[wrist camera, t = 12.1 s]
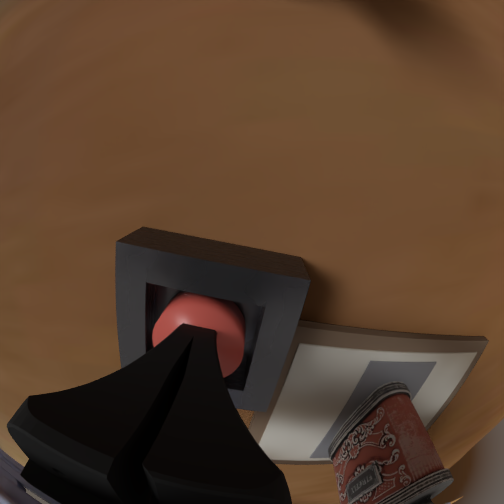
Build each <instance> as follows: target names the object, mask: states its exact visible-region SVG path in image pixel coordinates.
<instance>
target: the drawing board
mask: <svg viewBox="0 0 504 504" xmlns="http://www.w3.org/2000/svg"><path fill="white" fill-rule="evenodd" d="M487 343H488V340H487V339H486V338H485V337H484V336H452V335H434V334H419V333H406V332H394V331H384V330H374V329H364V328H356V327H347V326H339V325H332V324H324V323H317V322H310V321H303V320H299V321H298V324H297V327H296V331H295V334H294V337H293V340H292V343H291V346H290V349H289V351H288V354H287V357H286V360H285V363H284V366H283V369H282V371H281V374H280V377H279V380H278V382H277V385H276V388H275V391H274V393H273V396H272V399H271V401H270V404H269V406H268V409H267V411H266V412H259V411H255V412H254V414H253V417H252V420H251V423H250V426H249V428H248V430H249V431H250V433H251V435H252V436H253V438H254V439H255V440H256V442H257V443H258V444H259V446H260V447H261V448H262V450H263V451H264V452H265V453H266V455H267V456H268V457H269V458H270V459H271V460H272V462H273V463H274V464H295V465H314V464H333V462H332V461H330V459H329V454H328V448H329V446H330V444H331V442H332V440H333V438H334V436H335V435H336V434H337V432H338V431H339V430H340V428H341V427H342V425H343V424H344V423H345V421H346V420H347V419H348V418H349V417H350V416H351V415H352V414H353V412H354V411H355V410H356V409H357V408H358V407H359V406H360V405H361V404H362V403H363V402H364V401H365V400H366V399H367V398H368V396H369V395H370V394H371V393H372V392H373V391H374V390H376V389H377V388H378V387H380V386H382V385H383V384H386V383H389V382H393V381H400V382H403V383H404V384H406V386H407V388H408V390H409V391H410V393H411V396H412V398H411V402H412V403H413V405H414V407H415V409H416V411H417V413H418V415H419V417H420V419H421V421H422V423H423V425H424V427H425V429H426V431H427V430H428V429H429V428H430V427H431V425H432V424H433V423H434V422H435V421H436V419H437V418H438V417H439V416H440V414H441V413H442V412H443V411H444V409H445V408H446V407H447V406H448V404H449V403H450V402H451V400H452V399H453V397H454V396H455V395H456V393H457V392H458V390H459V389H460V388H461V386H462V385H463V383H464V382H465V380H466V379H467V377H468V376H469V374H470V372H471V371H472V369H473V368H474V366H475V364H476V363H477V361H478V359H479V358H480V356H481V354H482V352H483V351H484V349H485V347H486V345H487Z"/></svg>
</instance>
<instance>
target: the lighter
mask: <svg viewBox="0 0 504 504" xmlns="http://www.w3.org/2000/svg"><path fill="white" fill-rule="evenodd" d="M411 398H412V396H411V393H410V391H409V390H408V388H407V386H406V384H404V383H403V382H400V381H393V382H389V383H386V384H383V385H382V386H380V387H378V388H377V389H376V390H374V391H373V392H372V393H371V394H370V395H369V396H368V398H367V399H366V400H365V401H364V402H363V403H362V404H361V405H360V406H359V407H358V408H357V409H356V410H355V411H354V412H353V414H352V415H351V416H350V417H349V418H348V419H347V420H346V421H345V423H344V424H343V425H342V427H341V428H340V430H339V431H338V432H337V434H336V435H335V436H334V438H333V440H332V442H331V444H330V446H329V448H328V454H329V459H330V461H332V462H333V465H334V470H335V476H336V481H337V486H338V492H339V498H340V504H433V502H432V501H431V499H432V498H434V497H435V496H436V495H438V494H439V493H440V492H441V491H443V490H444V489H445V488H446V487H448V486H449V485H450V484H451V483H452V482H453V480H454V479H453V477H452V475H451V473H450V470H449V469H444V467H443V464H442V462H441V460H440V458H439V456H438V453H437V451H436V449H435V447H434V445H433V443H432V441H431V439H430V437H429V435H428V433H427V431H426V429H425V427H424V425H423V423H422V421H421V419H420V417H419V415H418V413H417V411H416V409H415V407H414V405H413V403H412V402H411Z"/></svg>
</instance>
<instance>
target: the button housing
mask: <svg viewBox="0 0 504 504" xmlns="http://www.w3.org/2000/svg"><path fill="white" fill-rule="evenodd" d="M115 276H116V312H117V328H118V340H119V351H120V360H121V368H123V367H125V366H127V365H128V364H130V363H132V362H133V361H135V360H136V359H138V358H139V357H141V356H142V355H144V354H145V353H147V352H148V351H150V350H151V349H152V348H154V346H153V340H152V334H153V329H154V326H155V324H156V322H157V321H158V319H159V317H160V316H161V314H162V313H163V311H164V310H165V308H166V306H167V305H168V303H169V302H170V300H171V299H172V298H173V297H175V296H176V295H177V294H179V293H181V292H183V291H186V292H191V293H196V294H200V295H205V296H210V297H215V298H220V299H225V300H230V301H233V302H234V303H235V304H236V305H237V306H238V308H239V309H240V311H241V312H242V314H243V317H244V320H245V325H246V332H245V343H244V353H243V358H242V361H241V363H240V365H239V367H238V368H237V369H236V370H235V371H234V372H233V373H231V374H230V375H228V376H226V377H224V380H225V383H226V386H227V389H228V392H229V394H230V397H231V399H232V401H233V403H234V405H235V407H236V408H238V409H244V410H252V411H259V412H266V411H267V409H268V406H269V404H270V401H271V399H272V396H273V393H274V391H275V388H276V385H277V382H278V380H279V377H280V374H281V371H282V369H283V366H284V363H285V360H286V357H287V354H288V351H289V349H290V346H291V343H292V340H293V337H294V334H295V331H296V327H297V324H298V321H299V318H300V315H301V312H302V309H303V305H304V302H305V299H306V295H307V292H308V289H309V285H310V282H311V279H310V277H309V275H308V272H307V270H306V268H305V265H304V263H303V261H302V259H301V257H297V256H292V255H287V254H281V253H276V252H271V251H266V250H261V249H256V248H251V247H246V246H241V245H235V244H230V243H225V242H220V241H215V240H210V239H204V238H199V237H194V236H189V235H184V234H178V233H173V232H168V231H163V230H157V229H152V228H147V227H141V228H139V229H138V230H136V231H134V232H132V233H130V234H129V235H127V236H125V237H123V238H121V239H120V240H118V241H116V269H115Z"/></svg>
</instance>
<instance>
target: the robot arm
mask: <svg viewBox="0 0 504 504" xmlns="http://www.w3.org/2000/svg"><path fill="white" fill-rule="evenodd" d="M7 428H8V431H9V433H10V435H11V436H12V438H13V439H14V441H15V442H16V443H17V444H18V446H19V447H20V448H21V450H22V451H23V452H24V453H25V454H26V456H27V457H28V458H29V460H28V462H27V463H26V465H25V467H23V466H22V465H21V464H19V463H18V462H17V461H15V460H14V459H13V458H11V457H10V456H9V455H8V454H6V453H5V452H4V451H3V450H1V449H0V504H42V503H40V502H39V501H37V500H36V499H34V498H33V497H31V496H30V495H29V494H27V493H26V489H25V488H27V489H28V490H30V491H31V492H33V493H34V494H35V495H37V496H38V497H40V498H42V499H43V500H45V501H46V502H48V503H50V504H292V501H291V496H290V492H289V488H288V485H287V482H286V479H285V476H284V474H283V472H282V471H281V470H280V469H279V468H278V467H277V466H276V465H275V464H274V463H273V462H272V460H271V459H270V458H269V457H268V456H267V455H266V453H265V452H264V451H263V450H262V448H261V447H260V446H259V444H258V443H257V442H256V440H255V439H254V438H253V436H252V435H251V433H250V431H249V430H248V428H247V427H246V425H245V424H244V422H243V420H242V419H241V417H240V415H239V413H238V411H237V409H236V407H235V405H234V403H233V401H232V399H231V397H230V394H229V392H228V389H227V386H226V383H225V380H224V377H223V374H222V371H221V367H220V362H219V358H218V352H217V332H216V331H215V330H213V329H208V328H203V327H199V326H194V325H190V324H185V323H182V324H181V325H179V326H178V327H177V328H176V329H175V330H174V331H173V332H172V333H171V334H170V335H168V336H167V337H166V338H165V339H164V340H162V341H161V342H160V343H159V344H157V345H156V346H155V347H154V348H152V349H151V350H150V351H148V352H147V353H145V354H144V355H142V356H141V357H139V358H138V359H136V360H135V361H133V362H132V363H130V364H128V365H127V366H125V367H123V368H121V369H120V370H118V371H116V372H114V373H112V374H110V375H107V376H105V377H103V378H100V379H98V380H95V381H93V382H90V383H88V384H85V385H82V386H78V387H75V388H71V389H67V390H63V391H59V392H53V393H47V394H40V395H32V396H29V397H28V398H27V399H26V400H25V401H24V402H23V404H22V405H21V406H20V407H19V409H18V410H17V411H16V413H15V414H14V415H13V417H12V418H11V420H10V421H9V422H8V424H7ZM24 487H25V488H24ZM445 504H450V502H447V503H445Z"/></svg>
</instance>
